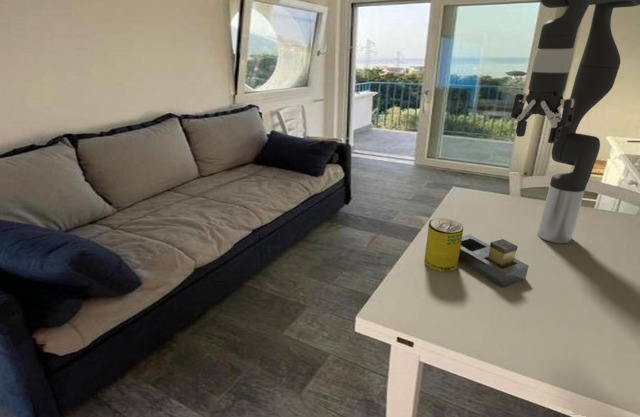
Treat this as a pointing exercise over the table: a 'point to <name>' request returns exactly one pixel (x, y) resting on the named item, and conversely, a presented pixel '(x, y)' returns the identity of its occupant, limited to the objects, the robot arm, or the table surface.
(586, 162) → the robot arm
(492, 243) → the tan banded block
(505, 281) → the cinder block
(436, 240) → the beverage can
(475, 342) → the table surface
